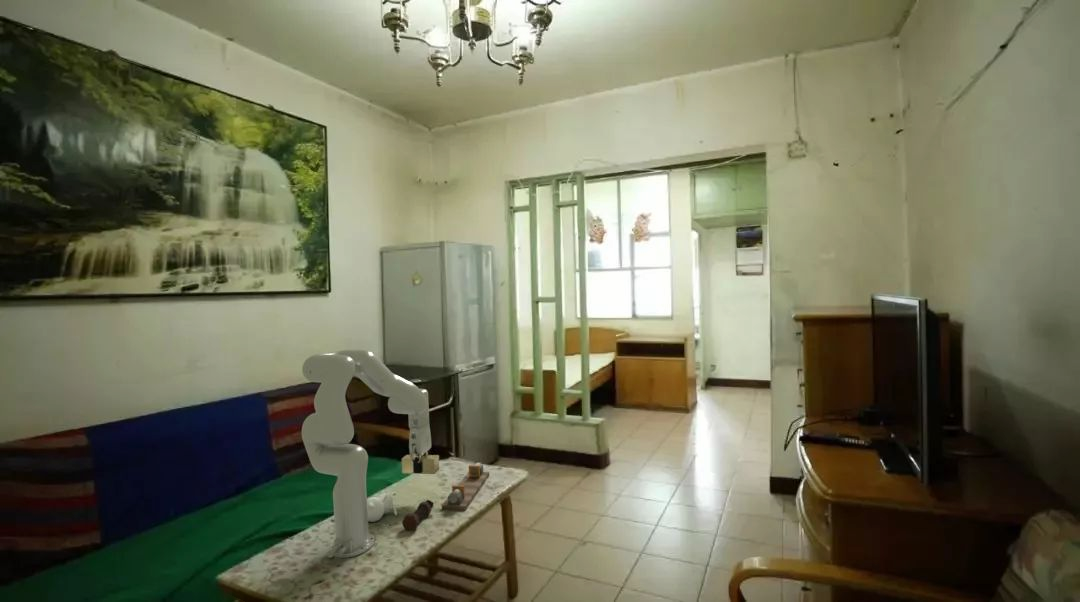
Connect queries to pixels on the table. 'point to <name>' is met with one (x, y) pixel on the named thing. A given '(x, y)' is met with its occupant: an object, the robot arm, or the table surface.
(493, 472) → the table surface
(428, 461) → the tan rectangular block
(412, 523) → the bolt
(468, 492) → the shaft base
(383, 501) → the cat figurine
